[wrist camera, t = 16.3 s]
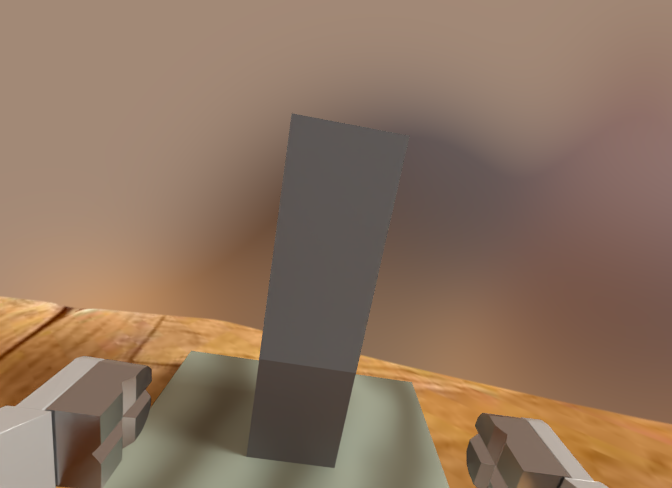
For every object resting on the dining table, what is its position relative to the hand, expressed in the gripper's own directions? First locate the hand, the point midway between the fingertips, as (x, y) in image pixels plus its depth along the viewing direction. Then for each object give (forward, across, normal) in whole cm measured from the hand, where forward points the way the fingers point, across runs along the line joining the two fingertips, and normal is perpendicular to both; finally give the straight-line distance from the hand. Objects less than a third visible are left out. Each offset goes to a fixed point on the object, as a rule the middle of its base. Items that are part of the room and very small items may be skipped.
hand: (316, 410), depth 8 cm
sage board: (+12, 0, +14) cm, 18 cm away
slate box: (+12, 0, +12) cm, 17 cm away
